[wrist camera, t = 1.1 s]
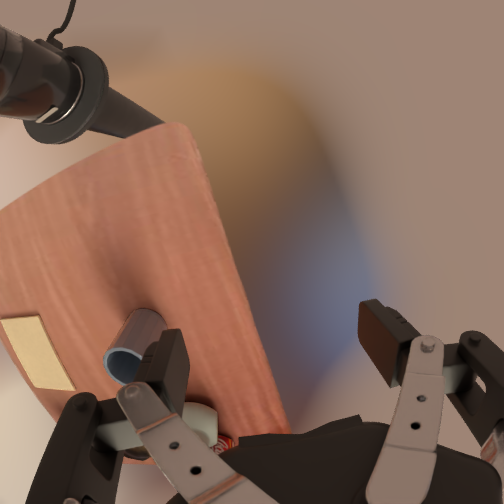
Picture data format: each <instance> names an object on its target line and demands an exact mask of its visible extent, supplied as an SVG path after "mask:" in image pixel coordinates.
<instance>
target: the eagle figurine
mask: <svg viewBox="0 0 504 504" xmlns="http://www.w3.org/2000/svg"><path fill="white" fill-rule="evenodd" d="M124 456H125V457H127V458H131V459H135V460H141V461H144V460H146V459H148V458H149V457H151V456H150V454H149V453H148V451H147V450H146V448H145V447H144V446H139V447H134V448H129V449H125V452H124Z"/></svg>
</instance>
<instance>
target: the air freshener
mask: <svg viewBox="0 0 504 504" xmlns="http://www.w3.org/2000/svg"><path fill="white" fill-rule="evenodd" d="M182 419H183V420H184V421H185V423H186V424H187V425H188V426H189V427H190V428H191V429H192V430H193V431H194V432H195V433H196V434H197V435H198V436H199V437H200V438H201V439H202V440H203V441H204V442H205V443H206V444H207V445H208V446H209V447H212V446H214V445H216V444H217V443H218V418H217V412H216V411H215V410H213V409H212V408H210V407H208V406H206V405H203V404H200V403H195V402H184V408H183V414H182Z"/></svg>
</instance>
